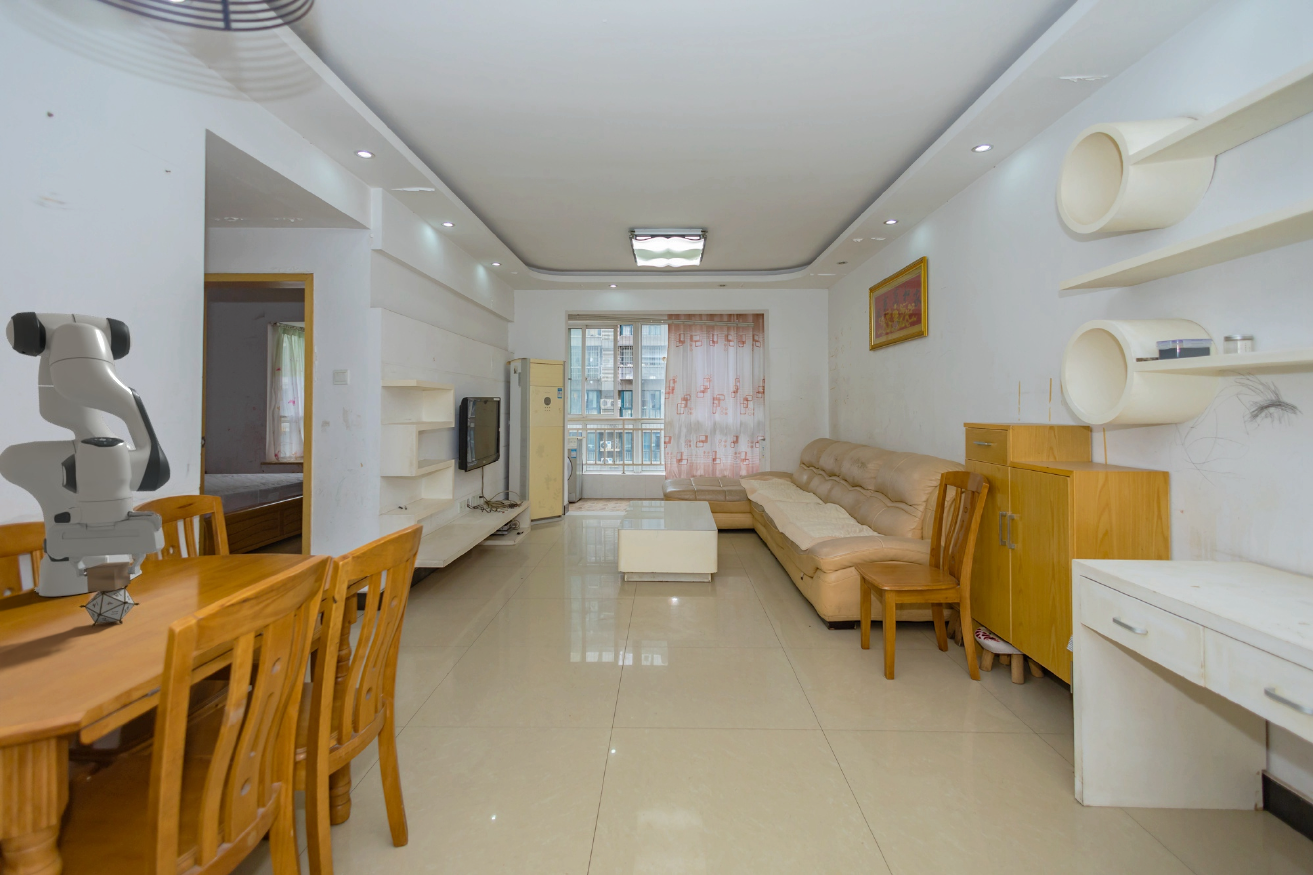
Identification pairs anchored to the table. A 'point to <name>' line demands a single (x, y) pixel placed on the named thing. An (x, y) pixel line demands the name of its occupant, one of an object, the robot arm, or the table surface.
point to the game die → (109, 605)
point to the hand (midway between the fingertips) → (108, 575)
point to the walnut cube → (108, 576)
